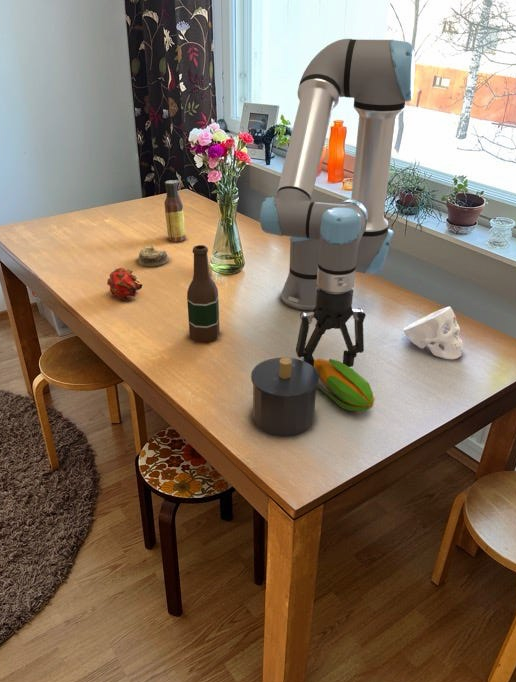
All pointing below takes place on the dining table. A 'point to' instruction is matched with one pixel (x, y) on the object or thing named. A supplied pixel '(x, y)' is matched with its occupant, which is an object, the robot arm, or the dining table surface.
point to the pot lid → (285, 377)
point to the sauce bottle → (174, 213)
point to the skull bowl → (437, 333)
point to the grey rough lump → (152, 257)
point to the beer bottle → (202, 300)
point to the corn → (344, 385)
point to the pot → (283, 413)
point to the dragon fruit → (123, 283)
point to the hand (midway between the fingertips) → (327, 379)
